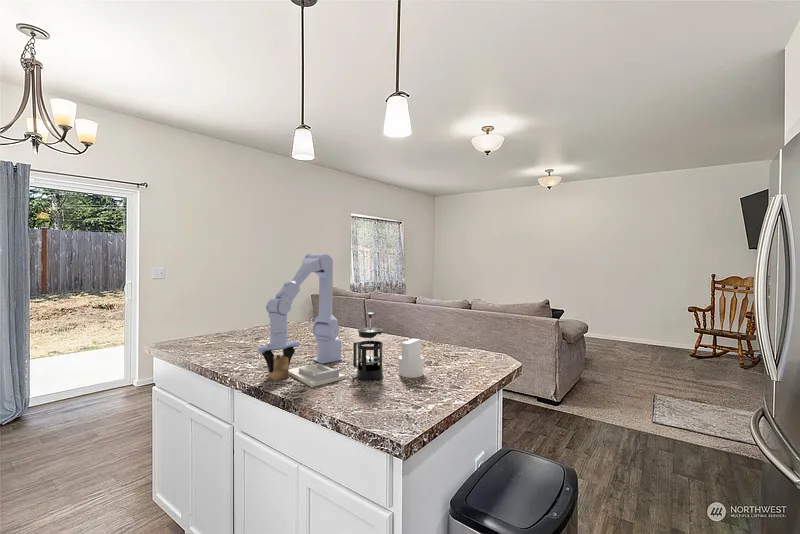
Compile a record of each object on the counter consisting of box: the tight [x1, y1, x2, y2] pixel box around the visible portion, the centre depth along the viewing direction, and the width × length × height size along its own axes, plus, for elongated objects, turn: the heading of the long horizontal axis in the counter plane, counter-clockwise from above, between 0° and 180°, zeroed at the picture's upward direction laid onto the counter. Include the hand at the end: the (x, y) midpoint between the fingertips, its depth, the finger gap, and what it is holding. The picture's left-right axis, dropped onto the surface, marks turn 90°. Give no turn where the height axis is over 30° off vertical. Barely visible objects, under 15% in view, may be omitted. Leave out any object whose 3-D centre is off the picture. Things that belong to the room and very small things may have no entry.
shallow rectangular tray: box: [288, 362, 346, 388], centre depth 132 cm, size 13×19×4 cm
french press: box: [352, 311, 384, 382], centre depth 131 cm, size 12×9×23 cm
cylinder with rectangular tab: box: [398, 338, 424, 379], centre depth 136 cm, size 9×9×12 cm
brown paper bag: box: [268, 354, 289, 381], centre depth 130 cm, size 5×5×8 cm
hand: (278, 370), depth 130 cm, fingers closed on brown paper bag, 5 cm apart
